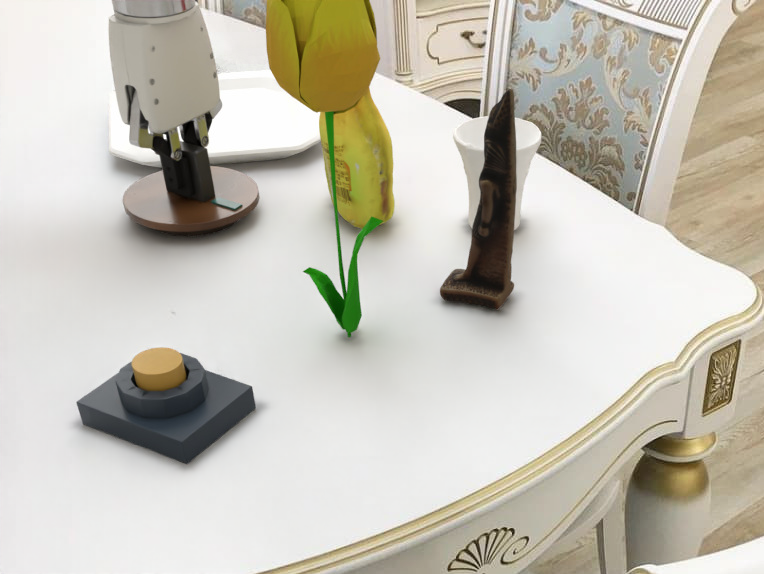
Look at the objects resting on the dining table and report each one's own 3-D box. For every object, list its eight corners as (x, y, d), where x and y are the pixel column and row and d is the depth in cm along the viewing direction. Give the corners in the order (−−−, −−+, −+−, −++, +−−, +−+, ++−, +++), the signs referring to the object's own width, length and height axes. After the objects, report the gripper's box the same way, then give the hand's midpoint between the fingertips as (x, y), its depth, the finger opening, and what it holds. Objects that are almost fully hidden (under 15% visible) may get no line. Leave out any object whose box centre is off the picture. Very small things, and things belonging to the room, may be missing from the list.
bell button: (125, 384, 90) (120, 365, 88) (158, 360, 92) (154, 342, 91) (164, 398, 88) (159, 379, 87) (196, 374, 91) (192, 355, 90)
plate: (309, 84, 144) (307, 66, 143) (334, 164, 128) (332, 144, 126) (112, 98, 140) (108, 79, 138) (112, 182, 123) (107, 162, 122)
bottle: (313, 196, 122) (290, -6, 107) (368, 186, 124) (353, -13, 109) (349, 244, 114) (330, 34, 100) (407, 232, 116) (396, 25, 102)
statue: (454, 282, 109) (449, 66, 95) (521, 295, 108) (527, 78, 93) (438, 302, 107) (431, 83, 92) (507, 316, 105) (511, 96, 91)
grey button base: (82, 424, 92) (69, 383, 89) (155, 372, 97) (145, 331, 94) (187, 464, 88) (177, 422, 85) (256, 408, 94) (249, 367, 91)
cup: (435, 227, 117) (432, 131, 110) (494, 199, 122) (494, 105, 115) (497, 255, 113) (498, 157, 106) (555, 225, 118) (560, 129, 111)
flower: (298, 360, 99) (247, -14, 77) (308, 313, 105) (263, -48, 83) (395, 360, 99) (371, -12, 78) (399, 314, 105) (378, -46, 83)
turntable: (95, 210, 115) (81, 154, 111) (186, 162, 124) (176, 108, 120) (199, 244, 111) (188, 187, 106) (286, 192, 119) (279, 137, 115)
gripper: (181, -34, 109) (213, 154, 122) (58, 9, 99) (108, 208, 113) (239, -21, 106) (266, 170, 120) (120, 25, 97) (163, 227, 110)
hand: (189, 187), depth 116 cm, fingers closed on turntable, 2 cm apart
